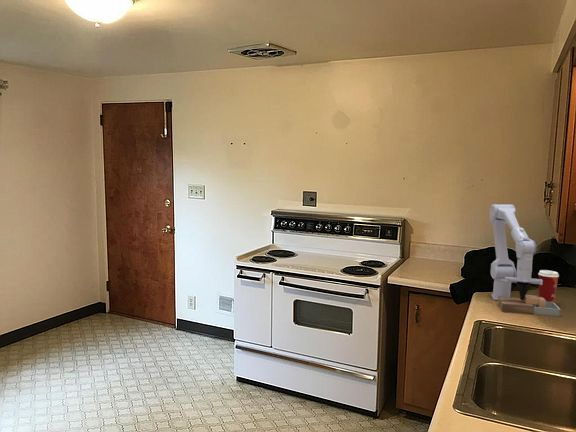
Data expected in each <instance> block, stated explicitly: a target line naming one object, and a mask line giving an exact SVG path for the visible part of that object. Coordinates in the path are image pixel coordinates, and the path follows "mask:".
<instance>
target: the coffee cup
mask: <svg viewBox="0 0 576 432" xmlns="http://www.w3.org/2000/svg"><path fill="white" fill-rule="evenodd" d="M537 275H538V279H542V280H543V283H542V285H540V284H538V297H543V298H544V299H545V300H546V302H554V303H555V301H556V300H555V299H556V295H557V293H556V292H557V287H558V280H559V277H560V274H559V272H557V271H554V270H548V269H540V270H539V272H538V274H537Z"/></svg>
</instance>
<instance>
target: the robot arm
mask: <svg viewBox="0 0 576 432" xmlns="http://www.w3.org/2000/svg"><path fill="white" fill-rule="evenodd" d="M516 212H517V210H516V207H515V205H514V204H512V203H511V204H503V203H502V204H496V203H493V204H491V206H490V208H489V211H488V214H489V221H490V223H491V224H492V230H493V238H494V239H493V240H494V250H495V260H493V261H492V263H490V276H491V277H492V279H493V290H492V293H490V296H491V298H492V299H493V300H494V301H498V296H499V297H511V292H512V291H511V289H512V283H515V284H516V287H517V289H518V292H519V298H520V299H521V300H524V298H525V295H527V293H528V291H529V290H530V289H531V287H532V286H531V285H532V284H533V285H539V284H540V285H542V283H543V280H542V279H539V278H532V272H533V260H534V255H535V253H537V243H536V241H535V240H532V239H531V238H529V235H528V234H527V232H526V231H525V228H523V227H522V226H520V224H519V222H518V219H517V217H516ZM506 224H507V226H508V227H509V228H510V230H511V231H510V235H511V238H512V239H513V241H514V243H515V246H514V248H515V253H516V255H515V256H516V258H517V263H516V267H515V263H514V261H512V260H511V259H509V253H508V243H507V234H506Z"/></svg>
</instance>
